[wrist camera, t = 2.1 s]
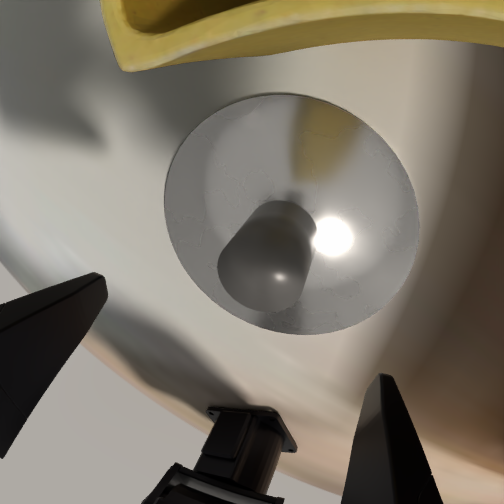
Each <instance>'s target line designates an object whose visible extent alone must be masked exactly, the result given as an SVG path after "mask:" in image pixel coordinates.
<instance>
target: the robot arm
mask: <svg viewBox="0 0 504 504" xmlns="http://www.w3.org/2000/svg"><path fill="white" fill-rule="evenodd" d="M107 298H108V291H107V286H106V280H105V277H104V276H103V275H100V274H98V273H96V272H93V273H89V274H86V275H83V276H80V277H78V278H75V279H72V280H69V281H66V282H63V283H60V284H57V285H54V286H51V287H48V288H45V289H43V290H40V291H37V292H34V293H31V294H28V295H26V296H23V297H20V298H17V299H14V300H12V301H9V302H7V303H6V304H5V303H3V304H0V458H1V459H3V458H4V457H5V455H6V453H7V451H8V450H9V448H10V447H11V445H12V443H13V441H14V440H15V438H16V437H17V435H18V433H19V432H20V430H21V428H22V427H23V425H24V424H25V422H26V420H27V418H28V417H29V416H30V414H31V412H32V411H33V409H34V408H35V406H36V405H37V403H38V402H39V400H40V399H41V397H42V396H43V394H44V393H45V391H46V390H47V388H48V387H49V385H50V384H51V383H52V381H53V380H54V378H55V377H56V375H57V374H58V372H59V371H60V370H61V368H62V367H63V365H64V364H65V363H66V361H67V360H68V358H69V357H70V355H71V354H72V353H73V351H74V350H75V349H76V347H77V346H78V345H79V343H80V342H81V341H82V339H83V338H84V336H85V335H86V333H87V332H88V330H89V329H90V327H91V325H92V324H93V322H94V320H95V319H96V317H97V316H98V314H99V312H100V311H101V309H102V307H103V306H104V304H105V303H106V301H107ZM206 413H207V414H208V416H209V417H210V418H211V419H212V421H213V422H214V423H215V424H214V426H213V428H212V430H211V432H210V434H209V436H208V438H207V440H206V442H205V444H204V446H203V448H202V450H201V452H202V453H201V455H200V457H199V459H198V461H197V463H196V465H195V467H194V469H193V470H194V471H193V470H190V469H188V468H185V467H183V466H182V465H181V464H179V463H175V464H174V465H173V466H171V467H170V469H169V470H168V471H167V472H166V474H165V475H164V476H163V478H162V479H161V481H160V482H159V483H158V484H157V486H156V487H155V489H154V490H153V491H152V492H151V493H150V494H149V495H148V496H147V497H146V499H144V500H143V502H142V503H141V504H283V503H284V498H281V497H273V496H269V495H266V493H267V490H268V488H269V485H270V483H271V480H272V477H273V474H274V471H275V469H276V466H277V463H278V460H279V457H280V454H281V452H289V453H295V452H297V448H298V447H297V445H296V444H295V442H294V440H293V439H292V437H291V435H290V433H289V432H288V430H287V428H286V427H285V425H284V423H283V421H282V420H281V418H280V416H279V415H278V414H277V413H274V412H263V411H248V410H237V409H226V408H217V407H208V408H207V410H206ZM431 474H432V472H431V469H430V467H429V464H428V461H427V458H426V456H425V453H424V451H423V448H422V445H421V443H420V440H419V438H418V435H417V433H416V430H415V428H414V425H413V423H412V420H411V418H410V415H409V413H408V411H407V408H406V406H405V404H404V401H403V399H402V397H401V394H400V392H399V390H398V387H397V385H396V383H395V380H394V378H393V377H392V376H391V375H388V374H384V373H379V374H378V375H377V376H376V378H375V379H374V380H373V382H372V383H371V384H370V386H369V387H368V389H367V391H366V393H365V397H364V401H363V405H362V409H361V413H360V417H359V421H358V424H357V428H356V432H355V435H354V439H353V445H352V450H351V456H350V462H349V467H348V472H347V477H346V482H345V487H344V491H343V496H342V500H341V504H443V501H442V499H441V496H440V494H439V491H438V488H437V486H436V483H435V480H434V477H433V475H431Z"/></svg>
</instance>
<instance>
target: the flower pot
mask: <svg viewBox="0 0 504 504" xmlns="http://www.w3.org/2000/svg"><path fill="white" fill-rule="evenodd" d="M99 1H100V6H101V10H102V16H103V20H104V24H105V27H106V30H107V34H108V37H109V40H110V43H111V46H112V49H113V52H114V55H115V58H116V60H117V63H118V65H119V67H120V68H121V69H122V70H123V71H127V72H137V71H143V70H149V69H154V68H159V67H165V66H170V65H176V64H182V63H189V62H197V61H205V60H214V59H224V58H236V57H253V56H265V55H273V54H278V53H284V52H289V51H294V50H299V49H304V48H310V47H316V46H323V45H330V44H338V43H346V42H356V41H368V40H386V39H435V40H451V41H462V42H472V43H480V44H487V45H493V46H499V47H504V0H99Z"/></svg>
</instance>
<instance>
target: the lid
mask: <svg viewBox="0 0 504 504" xmlns="http://www.w3.org/2000/svg"><path fill="white" fill-rule="evenodd" d="M164 204H165V218H166V224H167V229H168V233H169V236H170V239H171V243H172V245H173V247H174V250H175V252H176V254H177V257H178V258H179V260H180V262H181V264H182V265H183V267H184V269H185V270H186V272H187V273H188V274H189V276H190V277H191V279H192V280H193V281H194V282H195V283H196V285H197V286H198V287H199V288H200V289H201V290H202V291H203V292H204V293H205V294H206V295H207V296H208V297H209V298H210V299H211V300H213V301H214V302H215V303H216V304H218V305H219V306H220V307H222V308H223V309H225V310H226V311H228V312H229V313H231V314H232V315H234V316H236V317H238V318H240V319H242V320H244V321H246V322H248V323H250V324H253V325H255V326H258V327H261V328H264V329H268V330H271V331H275V332H281V333H286V334H297V335H316V334H324V333H330V332H334V331H338V330H342V329H345V328H348V327H351V326H353V325H356V324H358V323H360V322H362V321H364V320H365V319H367V318H369V317H371V316H372V315H373V314H375V313H376V312H378V311H379V310H380V309H382V308H383V307H384V306H385V305H386V304H387V303H388V302H389V301H390V300H391V299H392V298H393V297H394V296H395V294H396V293H397V292H398V291H399V289H400V288H401V287H402V285H403V283H404V281H405V280H406V278H407V276H408V275H409V272H410V270H411V267H412V265H413V262H414V260H415V256H416V252H417V247H418V242H419V228H420V225H419V212H418V206H417V201H416V197H415V193H414V190H413V187H412V185H411V182H410V180H409V177H408V175H407V172H406V171H405V169H404V167H403V165H402V164H401V162H400V160H399V159H398V157H397V156H396V154H395V153H394V152H393V150H392V149H391V148H390V147H389V145H388V144H387V143H386V142H385V141H384V139H383V138H382V137H381V136H379V135H378V134H377V133H376V132H375V131H374V130H373V129H372V128H371V127H369V126H368V125H367V124H366V123H364V122H363V121H361V120H360V119H358V118H357V117H355V116H354V115H352V114H351V113H349V112H347V111H345V110H343V109H340V108H338V107H336V106H334V105H332V104H329V103H326V102H323V101H319V100H316V99H313V98H308V97H301V96H294V95H268V96H261V97H255V98H250V99H246V100H243V101H240V102H237V103H233V104H231V105H229V106H227V107H225V108H223V109H221V110H219V111H217V112H215V113H214V114H213V115H211V116H210V117H208V118H207V119H205V120H204V121H203V122H202V123H201V124H200V125H198V126H197V127H196V128H195V129H194V130H193V131H192V132H191V133H190V135H189V136H188V137H187V138H186V140H185V141H184V142H183V144H182V145H181V147H180V149H179V150H178V152H177V154H176V156H175V158H174V160H173V162H172V165H171V168H170V170H169V173H168V178H167V182H166V187H165V199H164Z"/></svg>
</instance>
